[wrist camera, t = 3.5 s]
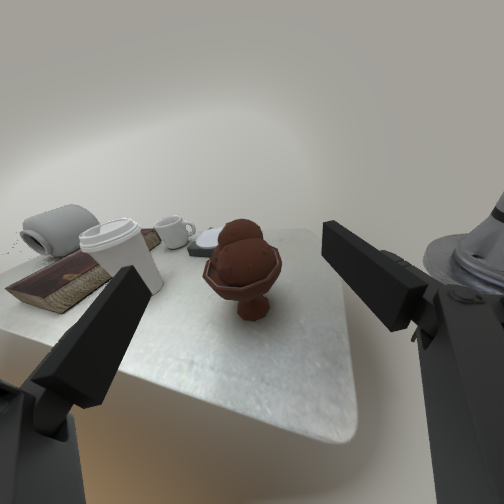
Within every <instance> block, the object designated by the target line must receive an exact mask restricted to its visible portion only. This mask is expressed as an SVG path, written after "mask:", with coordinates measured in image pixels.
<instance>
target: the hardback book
mask: <svg viewBox="0 0 504 504" xmlns="http://www.w3.org/2000/svg"><path fill="white" fill-rule="evenodd" d="M140 232H141V234H142V236H143V238H144V241H145V243H146V245H147V247H148V249H149V250H150V249H151V248H153V247H154V246H156V245H157V244H158V243H160V242H161V241H162V240H161V238H160V236H159V235H158V233H157V232H156V230H155V229H154V228H153V229H141V231H140ZM111 277H112V276H111V275H110V274H109V273H108V272H107V271H106V270H105V269H104V268H103V267H102V266H101V265H100V264H99V263H98V262H97V261H96V260H95V259H94V258H93V257H92V256H91V255H90V254H89V253H86V252H82V251H81V249H80V250H78V251H76V252H74V253H72V254H70V255H68V256H66V257H64V258H62V259H60V260H58V261H56V262H55V263H53V264H51V265H49V266H47V267H45V268H43V269H41V270H39V271H37V272H35V273H33V274H31V275H29V276H27V277H26V278H24V279H22V280H20V281H18V282H16V283H14V284H12V285H10V286H8V287H6V288H5V289H6V290H7V291H8V292H10V293H11V294H12V295H13V296H15V297H16V298H17V299H19V300H20V301H21V302H24V303H27V304H31V305H34V306H37V307H41V308H44V309H47V310H51V311H54V312H57V313H63V312H64V311H65V310H67V309H68V308H70V307H71V306H72V305H74V304H75V303H76V302H78V301H79V300H81V299H82V298H83V297H85V296H86V295H88V294H89V293H90V292H92V291H93V290H95V289H96V288H97V287H99V286H100V285H101V284H103V283H104V282H106V281H107V280H108V279H110V278H111Z"/></svg>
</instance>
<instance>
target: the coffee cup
mask: <svg viewBox="0 0 504 504" xmlns="http://www.w3.org/2000/svg"><path fill="white" fill-rule="evenodd" d="M140 231H141V226H140V225H139V224H137V223H136V222H133V221H132V220H131V219H130V218H119V219H115V220H111V221H108V222H105V223H102V224H99V225H97V226H94V227H92V228H90V229H88V230H86V231H84V232H83V233H81V234H80V235H79V239H80V248H81V251H82V252H86V253H89V254H90V255H91V256H92V257H93V258H94V259H95V260H96V261H97V262H98V263H99V264H100V265H101V266H102V267H103V268H104V269H105V270H106V271H107V272H108V273H109V274H110V275H111V276H112V277H114V276H115V275H116V273H117V272H118V271H119V270H120V269H121V267H125V266H130V265H134V267H135V269H136V270H137V272H138V273H139V275H140V276H141V278H142V279H143V281H144V282H145V284H146V285H147V287H148V288H149V290H150V291H151V293H152V296H153V295H154V294H156V293H157V292H158V291H159V290H160V289H161V288H162V286H163V280H162V277H161V275H160V273H159V271H158V269H157V267H156V265H155V262H154V260H153V258H152V256H151V254H150V252H149V249H148V247H147V245H146V243H145V241H144V238H143V236H142V234H141V232H140Z"/></svg>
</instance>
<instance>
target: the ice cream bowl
mask: <svg viewBox="0 0 504 504" xmlns="http://www.w3.org/2000/svg"><path fill="white" fill-rule="evenodd" d="M217 241H218V245H217V246H216V247H215V248H214V252H213V255H212V257H211V258H210V259H209V260H208V261H207V262H206V265H205V269H204V273H203V276H202V277H203V278H204V279H205V281H206V282H207V283H208V284H209V285H210V287H211V288H212V289H213V290H214V291H215V292H216V293H217V294H218V295H219V296H221V297H222V298H224V299H225V300H237V301H239V303H238V314H239V315H240V317H241V318H242V319H243V320H248V321H256V320H258V319H260V318H263V317H265V315H266V313H267V312H268V310H269V309H270V308H269V302H268V299H267V298H266V297H264V296H263V294H265V293H267V292H268V291H269V290H270V288H271V287H272V285H273V284H274V282H275V281H276V280H277V278H278V276H279V274H280V272H281V267H282V261H281V258H280V255H279V252H278V249H277V248H274V247H272V246H270V245H269V244H268V243H267V242H266V241H265V240H263V233H262V231H261V229H260V227H259V226H258V225H257V224H256V223H254V222H252V221H250V220H247V219H237V220H234V221H232V222H229V223H226V225H225V227H224V228H223V229H222V231H221V232H220V233H219V235H218V239H217Z"/></svg>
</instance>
